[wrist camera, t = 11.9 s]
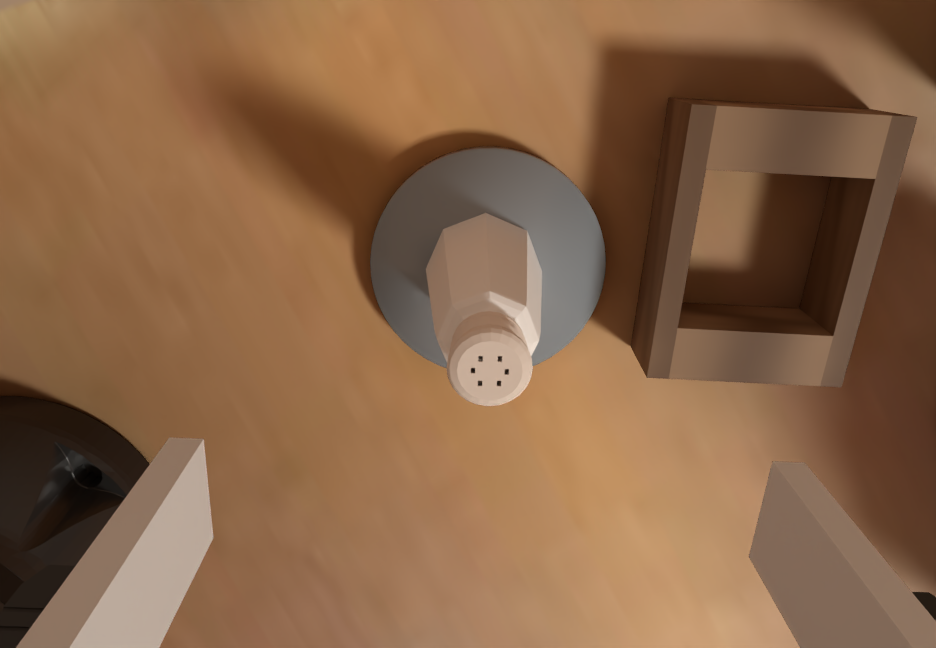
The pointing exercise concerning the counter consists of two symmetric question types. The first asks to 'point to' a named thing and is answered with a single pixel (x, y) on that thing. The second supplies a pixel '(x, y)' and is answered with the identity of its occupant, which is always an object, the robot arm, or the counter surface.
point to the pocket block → (834, 257)
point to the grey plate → (505, 197)
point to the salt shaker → (486, 307)
